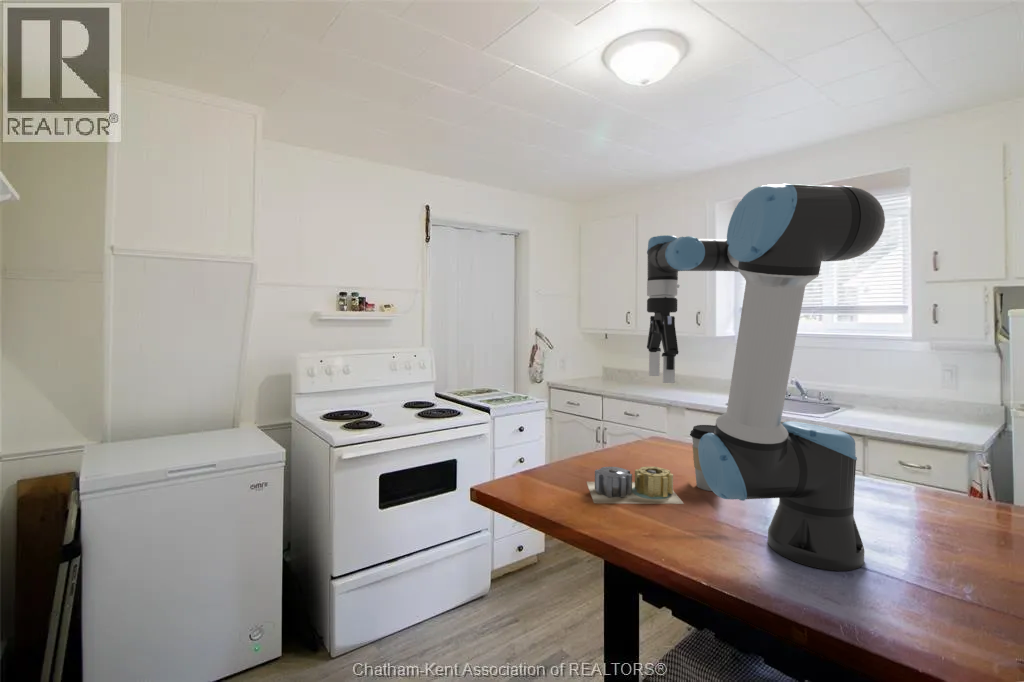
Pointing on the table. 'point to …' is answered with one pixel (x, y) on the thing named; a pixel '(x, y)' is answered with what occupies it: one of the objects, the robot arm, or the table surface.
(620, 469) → the gear
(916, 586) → the table surface
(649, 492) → the gear
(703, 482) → the coffee cup
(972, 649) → the table surface
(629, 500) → the gear board
